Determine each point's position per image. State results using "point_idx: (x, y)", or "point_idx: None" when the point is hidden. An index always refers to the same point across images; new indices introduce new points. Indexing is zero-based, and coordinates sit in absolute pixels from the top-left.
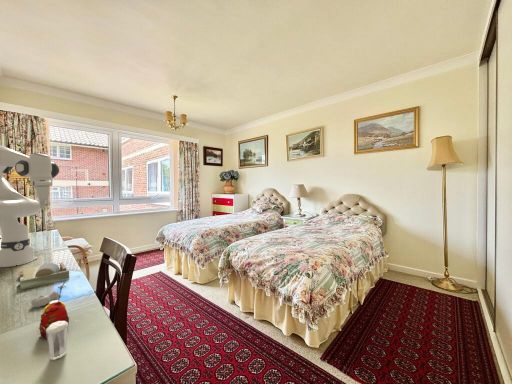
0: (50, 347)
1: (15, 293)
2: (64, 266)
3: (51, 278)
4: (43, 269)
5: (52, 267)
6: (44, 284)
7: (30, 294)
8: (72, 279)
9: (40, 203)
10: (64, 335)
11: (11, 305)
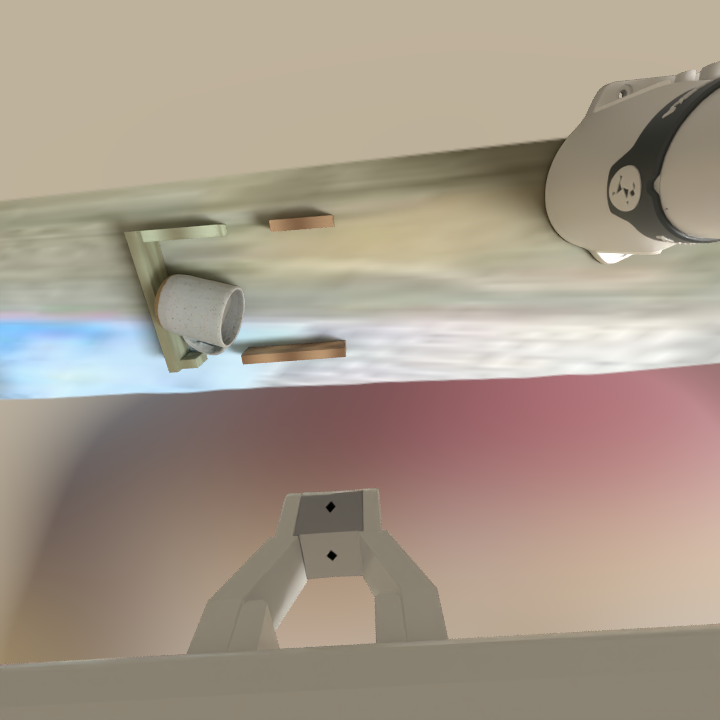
0: None
1: (119, 218)
2: (275, 360)
3: None
4: (154, 305)
5: (179, 332)
6: None
7: (82, 261)
8: None
9: (245, 568)
10: None
11: (4, 218)
